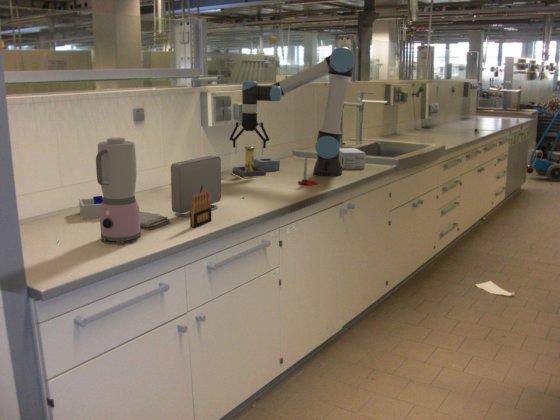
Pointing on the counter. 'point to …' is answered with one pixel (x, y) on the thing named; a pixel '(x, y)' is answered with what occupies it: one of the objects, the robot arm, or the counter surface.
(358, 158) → the supplement box
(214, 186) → the network device
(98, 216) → the box
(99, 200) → the cable clip
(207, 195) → the ammunition clip
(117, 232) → the blender
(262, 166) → the block
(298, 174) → the counter surface
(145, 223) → the washcloth
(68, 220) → the counter surface
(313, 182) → the red base upright rod
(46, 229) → the counter surface
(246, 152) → the amber glass vase
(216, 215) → the counter surface
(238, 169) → the tray
